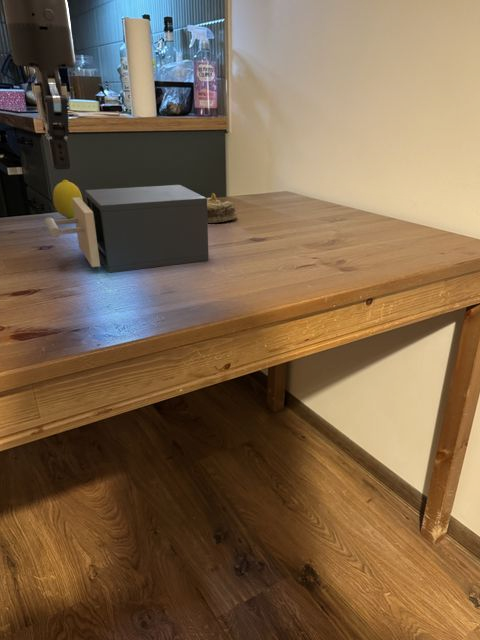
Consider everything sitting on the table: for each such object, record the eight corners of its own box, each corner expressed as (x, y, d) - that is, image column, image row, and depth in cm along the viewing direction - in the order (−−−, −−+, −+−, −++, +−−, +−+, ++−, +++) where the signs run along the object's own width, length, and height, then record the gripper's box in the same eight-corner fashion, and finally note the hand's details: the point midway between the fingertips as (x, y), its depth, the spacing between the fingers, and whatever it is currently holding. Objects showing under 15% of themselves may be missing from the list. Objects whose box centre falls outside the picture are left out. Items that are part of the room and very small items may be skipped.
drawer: (57, 271, 71) (48, 215, 67) (48, 250, 80) (39, 199, 76) (187, 256, 79) (184, 205, 75) (165, 238, 88) (162, 192, 84)
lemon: (76, 224, 99) (70, 182, 96) (51, 222, 100) (44, 181, 96) (90, 218, 104) (84, 178, 100) (65, 216, 105) (59, 176, 101)
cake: (214, 228, 101) (211, 202, 98) (181, 221, 106) (178, 195, 104) (247, 217, 107) (245, 191, 104) (215, 210, 113) (212, 186, 110)
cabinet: (108, 273, 74) (100, 205, 69) (92, 250, 84) (84, 190, 79) (208, 260, 80) (207, 198, 76) (182, 240, 90) (179, 184, 86)
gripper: (3, 26, 66) (29, 164, 74) (9, 15, 56) (38, 176, 64) (63, 30, 69) (81, 162, 77) (78, 20, 59) (98, 173, 67)
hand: (61, 168), depth 71 cm, fingers closed
